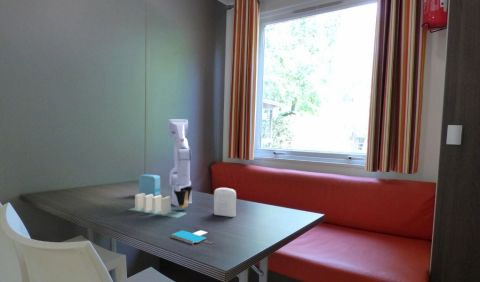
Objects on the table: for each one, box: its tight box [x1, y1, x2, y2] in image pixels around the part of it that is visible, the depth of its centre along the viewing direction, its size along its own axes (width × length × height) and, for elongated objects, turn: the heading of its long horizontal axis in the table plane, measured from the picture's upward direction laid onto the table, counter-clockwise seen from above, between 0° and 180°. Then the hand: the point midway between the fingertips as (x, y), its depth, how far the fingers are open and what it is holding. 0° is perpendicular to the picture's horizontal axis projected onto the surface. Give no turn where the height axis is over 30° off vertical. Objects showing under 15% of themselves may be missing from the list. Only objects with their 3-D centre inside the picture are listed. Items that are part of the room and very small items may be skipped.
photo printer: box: [213, 187, 237, 218], centre depth 132 cm, size 10×4×12 cm, turn 72°
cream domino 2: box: [143, 194, 153, 213], centre depth 138 cm, size 2×5×7 cm, turn 156°
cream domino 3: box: [152, 194, 163, 213], centre depth 136 cm, size 2×5×7 cm, turn 157°
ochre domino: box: [178, 191, 189, 209], centre depth 138 cm, size 2×5×7 cm, turn 157°
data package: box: [138, 173, 161, 197], centre depth 167 cm, size 12×4×12 cm, turn 62°
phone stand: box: [170, 229, 214, 245], centre depth 107 cm, size 20×12×2 cm, turn 55°
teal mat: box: [128, 207, 188, 218], centre depth 136 cm, size 28×7×1 cm, turn 67°
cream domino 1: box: [134, 193, 145, 210], centre depth 140 cm, size 2×5×7 cm, turn 157°
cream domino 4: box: [161, 195, 172, 216], centre depth 134 cm, size 2×5×7 cm, turn 157°
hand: (183, 203), depth 138 cm, fingers closed on ochre domino, 5 cm apart
